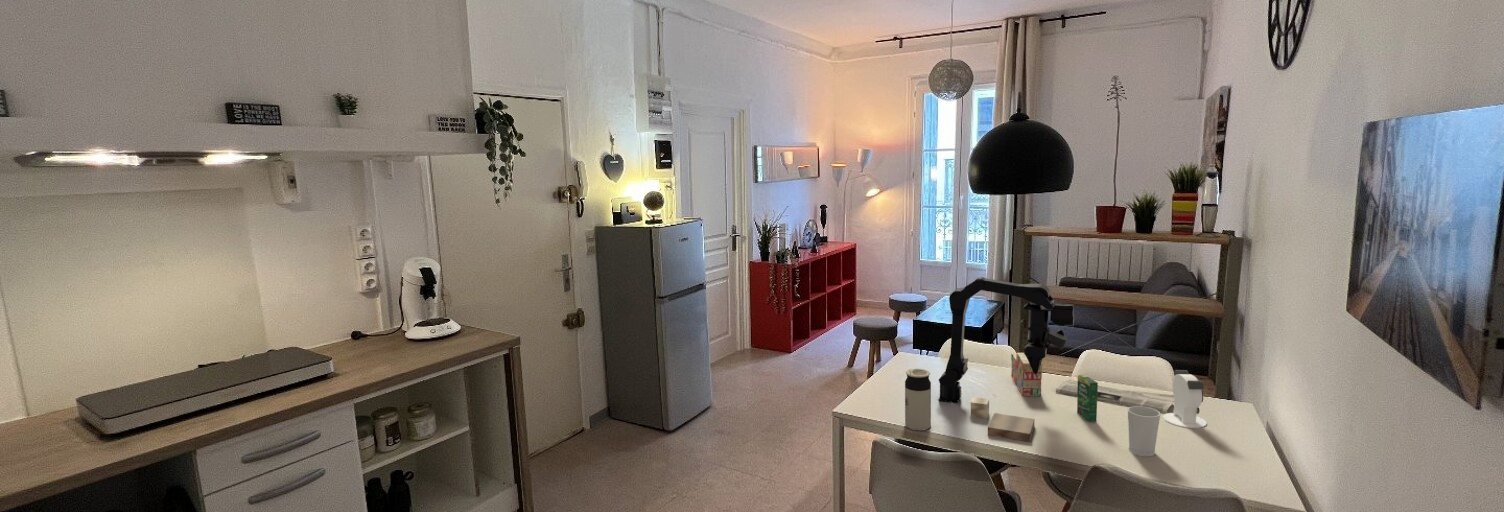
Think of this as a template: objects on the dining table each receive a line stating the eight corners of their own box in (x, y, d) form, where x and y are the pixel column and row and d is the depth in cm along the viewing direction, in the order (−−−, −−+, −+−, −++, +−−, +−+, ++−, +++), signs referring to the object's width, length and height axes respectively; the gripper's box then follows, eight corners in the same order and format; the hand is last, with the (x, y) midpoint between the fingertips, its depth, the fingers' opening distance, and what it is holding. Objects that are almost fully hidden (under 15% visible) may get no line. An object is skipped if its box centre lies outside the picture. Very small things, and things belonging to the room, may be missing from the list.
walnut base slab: (987, 434, 203) (987, 427, 202) (994, 420, 213) (994, 413, 213) (1029, 441, 197) (1029, 433, 197) (1034, 426, 207) (1034, 419, 207)
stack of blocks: (1010, 376, 254) (1011, 345, 252) (1028, 376, 252) (1028, 345, 251) (1022, 396, 233) (1023, 362, 231) (1041, 396, 232) (1042, 363, 230)
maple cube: (970, 416, 217) (970, 402, 216) (973, 411, 222) (973, 396, 221) (986, 419, 215) (986, 404, 214) (989, 413, 219) (989, 399, 218)
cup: (1119, 446, 192) (1121, 407, 190) (1145, 444, 192) (1147, 405, 191) (1137, 458, 184) (1139, 417, 182) (1164, 456, 185) (1167, 415, 183)
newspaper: (1055, 394, 235) (1055, 384, 234) (1065, 384, 244) (1065, 374, 244) (1171, 416, 212) (1172, 405, 212) (1177, 404, 222) (1178, 394, 221)
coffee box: (1075, 412, 217) (1077, 374, 215) (1084, 412, 217) (1085, 374, 215) (1087, 422, 209) (1089, 383, 207) (1096, 422, 209) (1098, 382, 207)
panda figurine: (1214, 429, 200) (1217, 382, 198) (1173, 428, 202) (1176, 381, 200) (1195, 414, 212) (1198, 369, 209) (1157, 413, 214) (1159, 368, 212)
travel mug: (931, 422, 214) (931, 368, 211) (929, 432, 206) (929, 377, 204) (906, 420, 216) (906, 367, 214) (903, 429, 209) (903, 375, 206)
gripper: (1063, 332, 202) (1061, 381, 205) (1068, 318, 218) (1066, 364, 221) (1024, 329, 208) (1023, 376, 210) (1032, 315, 224) (1030, 359, 226)
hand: (1037, 369), depth 217 cm, fingers open, 9 cm apart
